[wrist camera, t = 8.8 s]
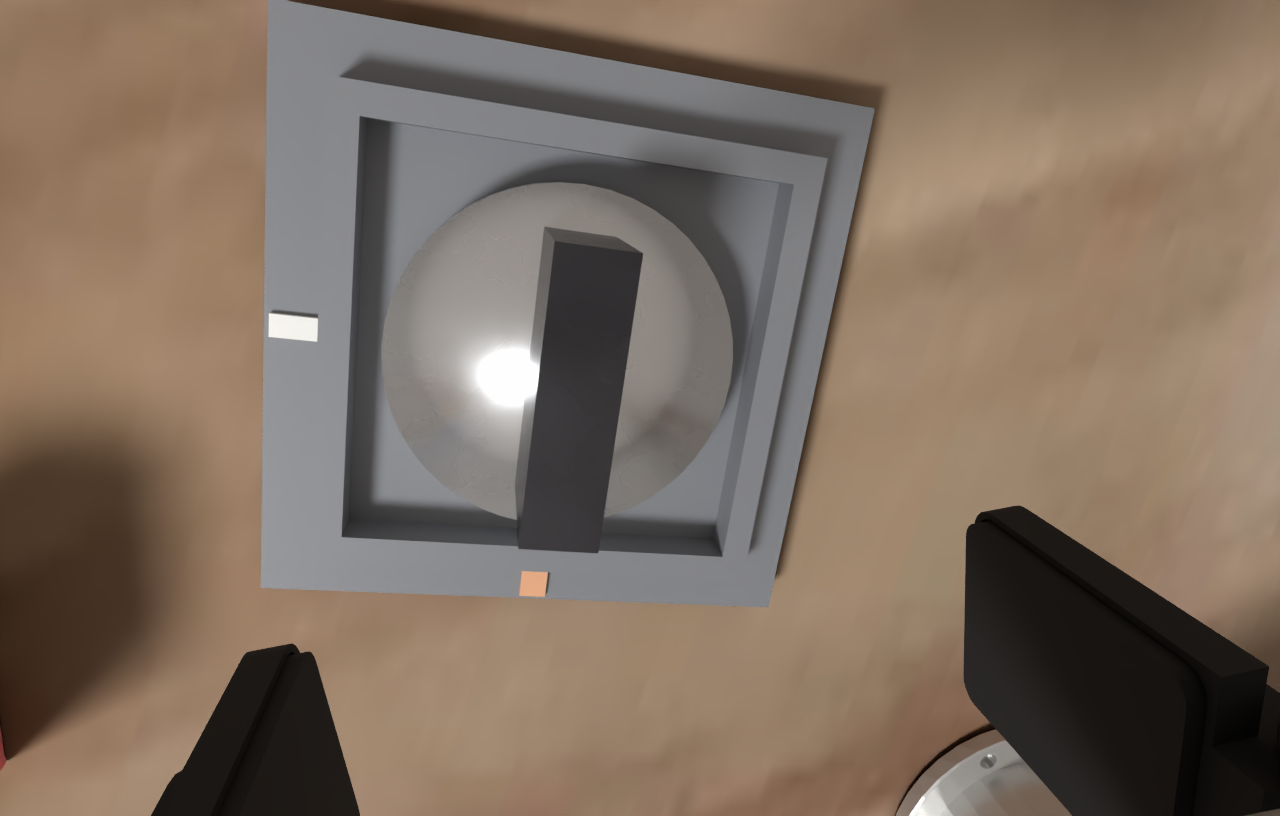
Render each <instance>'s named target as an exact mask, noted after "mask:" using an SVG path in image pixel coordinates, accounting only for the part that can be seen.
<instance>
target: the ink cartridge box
mask: <svg viewBox="0 0 1280 816" xmlns="http://www.w3.org/2000/svg"><path fill="white" fill-rule="evenodd" d="M5 763H6V758H5V756H4V749H3V742H2V735H1V727H0V770H1V769H2V768H3V766H4V765H5Z"/></svg>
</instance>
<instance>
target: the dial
mask: <svg viewBox="0 0 1280 816" xmlns="http://www.w3.org/2000/svg"><path fill="white" fill-rule="evenodd" d="M732 364H733V338H732V331H731V323H730V317H729V313H728V310H727V306H726V303H725V299H724V296H723V294H722V291H721V289H720V287H719V284H718V282H717V279H716V277H715V275H714V274H713V272H712V270H711V269H710V267H709V265H708V263H707V262H706V260H705V258H704V257H703V256H702V254H701V253H700V252H699V251H698V249H697V248H696V247H695V246H694V244H693V243H692V242H691V241H690V239H689V238H688V237H687V236H686V235H685V234H683V233H682V232H681V231H680V230H679V229H678V228H677V227H676V226H675V225H674V224H673V223H672V222H670V221H669V220H668V219H666V218H665V217H663V216H662V215H661V214H659V213H658V212H657V211H655V210H654V209H652V208H650V207H648V206H646V205H644V204H643V203H641V202H639V201H637V200H635V199H633V198H631V197H628V196H625V195H623V194H620V193H617V192H615V191H612V190H609V189H604V188H600V187H595V186H591V185H587V184H582V183H571V182H539V183H531V184H526V185H521V186H515V187H511V188H508V189H505V190H502V191H499V192H496V193H493V194H490V195H488V196H486V197H484V198H482V199H480V200H478V201H476V202H474V203H472V204H470V205H469V206H467V207H466V208H464V209H463V210H461V211H460V212H458V213H457V214H455V215H454V216H452V217H451V218H450V219H448V220H447V221H446V222H445V223H444V224H443V225H442V226H441V227H440V228H439V229H437V230H436V231H435V232H434V233H433V234H432V235H431V236H430V237H429V238H428V240H427V241H426V242H425V243H424V244H423V246H422V247H421V248H420V249H419V250H418V252H417V253H416V254H415V255H414V256H413V258H412V260H411V261H410V263H409V264H408V266H407V268H406V269H405V271H404V273H403V274H402V276H401V277H400V280H399V282H398V284H397V287H396V289H395V291H394V293H393V296H392V298H391V301H390V304H389V308H388V312H387V315H386V319H385V323H384V330H383V338H382V374H383V380H384V387H385V393H386V396H387V399H388V403H389V406H390V409H391V413H392V415H393V417H394V420H395V422H396V424H397V426H398V428H399V431H400V433H401V435H402V436H403V438H404V439H405V441H406V443H407V444H408V446H409V447H410V449H411V451H412V452H413V454H414V455H415V456H416V457H417V458H418V460H419V461H420V462H421V463H422V464H423V466H424V467H425V468H426V469H427V470H428V471H429V472H430V473H431V474H432V475H433V476H434V477H435V478H436V479H437V480H438V481H440V482H441V483H442V484H443V485H444V486H445V487H447V488H448V489H450V490H451V491H452V492H454V493H455V494H457V495H458V496H459V497H461V498H463V499H464V500H466V501H468V502H470V503H472V504H474V505H476V506H477V507H479V508H481V509H484V510H487V511H489V512H492V513H494V514H497V515H500V516H503V517H507V518H511V519H515V520H517V536H518V549H527V550H545V551H562V552H580V553H598V552H599V546H600V539H601V532H602V526H603V519H604V517H608V516H611V515H613V514H616V513H619V512H622V511H624V510H627V509H629V508H631V507H633V506H635V505H637V504H639V503H641V502H643V501H645V500H647V499H648V498H650V497H651V496H653V495H654V494H656V493H657V492H659V491H660V490H662V489H663V488H665V487H666V486H667V485H668V484H669V483H671V482H672V481H673V480H674V479H675V478H676V477H678V476H679V475H680V474H681V473H682V472H683V471H684V470H685V469H686V467H687V466H688V465H689V464H690V463H691V462H692V461H693V460H694V459H695V457H696V456H697V455H698V453H699V452H700V450H701V449H702V448H703V446H704V445H705V444H706V442H707V441H708V439H709V437H710V435H711V433H712V431H713V430H714V428H715V426H716V424H717V422H718V420H719V417H720V414H721V412H722V409H723V407H724V404H725V401H726V397H727V393H728V389H729V385H730V381H731V372H732Z"/></svg>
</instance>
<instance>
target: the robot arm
mask: <svg viewBox="0 0 1280 816" xmlns="http://www.w3.org/2000/svg"><path fill="white" fill-rule="evenodd" d="M1268 670H1269V666H1267V665H1266V664H1264V663H1263V662H1261V661H1260V660H1258V659H1257V658H1255V657H1254V656H1252V655H1251V654H1249V653H1247V652H1246V651H1244V650H1243V649H1241V648H1240V647H1238V646H1237V645H1235V644H1234V643H1232V642H1231V641H1229V640H1227V639H1226V638H1224V637H1223V636H1221V635H1220V634H1218V633H1217V632H1215V631H1214V630H1212V629H1211V628H1209V627H1207V626H1206V625H1204V624H1203V623H1201V622H1200V621H1198V620H1197V619H1195V618H1194V617H1192V616H1191V615H1189V614H1187V613H1186V612H1184V611H1183V610H1181V609H1180V608H1178V607H1177V606H1175V605H1174V604H1172V603H1171V602H1169V601H1167V600H1166V599H1164V598H1163V597H1161V596H1160V595H1158V594H1157V593H1155V592H1154V591H1152V590H1151V589H1149V588H1147V587H1146V586H1144V585H1143V584H1141V583H1140V582H1138V581H1137V580H1135V579H1134V578H1132V577H1131V576H1129V575H1127V574H1126V573H1124V572H1123V571H1121V570H1120V569H1118V568H1117V567H1115V566H1114V565H1112V564H1111V563H1109V562H1107V561H1106V560H1104V559H1103V558H1101V557H1100V556H1098V555H1097V554H1095V553H1094V552H1092V551H1091V550H1089V549H1087V548H1086V547H1084V546H1083V545H1081V544H1080V543H1078V542H1077V541H1075V540H1074V539H1072V538H1071V537H1069V536H1067V535H1066V534H1064V533H1063V532H1061V531H1060V530H1058V529H1057V528H1055V527H1054V526H1052V525H1051V524H1049V523H1047V522H1046V521H1044V520H1043V519H1041V518H1040V517H1038V516H1037V515H1035V514H1034V513H1032V512H1031V511H1029V510H1027V509H1026V508H1024V507H1022V506H1012V507H1007V508H1002V509H996V510H991V511H986V512H981V513H980V514H979V515H978V516H977V518H976V520H975V524H971V525H970V526H969V527H968V529H967V533H966V573H965V630H964V683H965V687H966V690H967V693H968V695H969V697H970V699H971V700H972V702H973V703H974V705H975V706H976V707H977V708H978V709H979V710H980V711H981V713H982V714H983V715H984V716H985V717H986V718H987V719H988V721H989V722H990V723H991V724H992V725H993V726H994V727H995V728H996V729H995V730H992V731H989V732H986V733H983V734H980V735H978V736H976V737H974V738H972V739H970V740H968V741H966V742H964V743H962V744H960V745H958V746H957V747H955V748H954V749H952V750H951V751H949V752H948V753H947V754H945V755H944V756H942V757H941V758H939V759H938V760H937V761H936V762H935V763H934V764H933V765H932V766H931V767H930V768H929V769H928V770H926V771H925V772H924V773H923V774H922V775H921V777H920V778H919V779H918V780H917V782H916V783H915V784H914V785H913V787H912V788H911V789H910V790H909V792H908V793H907V795H906V797H905V799H904V800H903V802H902V804H901V806H900V808H899V809H898V811H897V813H896V816H1280V693H1279V692H1277V691H1276V690H1274V689H1273V688H1271V687H1270V686H1268V685H1267V684H1266V682H1267V676H1268ZM151 816H360V813H359V809H358V805H357V802H356V798H355V795H354V791H353V788H352V784H351V781H350V777H349V774H348V770H347V767H346V764H345V760H344V757H343V753H342V750H341V746H340V743H339V739H338V736H337V732H336V729H335V726H334V722H333V719H332V715H331V712H330V708H329V705H328V701H327V698H326V695H325V691H324V688H323V684H322V681H321V677H320V674H319V670H318V667H317V663H316V660H315V658H314V656H313V654H312V653H311V652H304V653H300V652H299V650H298V648H297V647H296V645H294V644H287V645H282V646H276V647H271V648H266V649H261V650H255V651H250V652H247V653H246V654H245V655H244V656H243V658H242V660H241V661H240V663H239V665H238V667H237V669H236V671H235V673H234V675H233V676H232V678H231V680H230V682H229V684H228V686H227V688H226V690H225V691H224V693H223V695H222V697H221V699H220V701H219V703H218V705H217V706H216V708H215V710H214V712H213V714H212V716H211V718H210V720H209V721H208V723H207V725H206V727H205V729H204V731H203V733H202V735H201V736H200V738H199V740H198V742H197V744H196V746H195V748H194V750H193V751H192V753H191V755H190V757H189V759H188V761H187V763H186V765H185V766H184V768H183V770H182V771H180V772H179V773H177V774H175V776H174V777H173V778H172V780H171V781H170V782H169V784H168V785H167V787H166V789H165V791H164V793H163V794H162V796H161V798H160V800H159V802H158V804H157V806H156V807H155V809H154V811H153V813H152V815H151Z"/></svg>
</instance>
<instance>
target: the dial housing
mask: <svg viewBox="0 0 1280 816" xmlns="http://www.w3.org/2000/svg"><path fill="white" fill-rule="evenodd" d="M874 111H875V108H870V107H864V106H859V105H854V104H848V103H843V102H837V101H832V100H826V99H821V98H815V97H810V96H804V95H799V94H794V93H788V92H783V91H777V90H772V89H766V88H761V87H755V86H750V85H744V84H739V83H734V82H728V81H723V80H717V79H712V78H706V77H701V76H695V75H690V74H684V73H679V72H673V71H668V70H663V69H657V68H652V67H646V66H641V65H635V64H630V63H624V62H619V61H613V60H608V59H603V58H597V57H592V56H586V55H581V54H575V53H570V52H564V51H559V50H553V49H548V48H543V47H537V46H532V45H526V44H521V43H515V42H510V41H504V40H499V39H493V38H488V37H483V36H477V35H472V34H466V33H461V32H455V31H450V30H444V29H439V28H433V27H428V26H422V25H417V24H412V23H406V22H401V21H395V20H390V19H384V18H379V17H373V16H368V15H362V14H357V13H352V12H346V11H341V10H335V9H330V8H324V7H319V6H313V5H308V4H302V3H297V2H292V1H286V0H268V27H267V111H266V196H265V280H264V364H263V449H262V533H261V588H277V589H303V590H330V591H356V592H382V593H408V594H434V595H461V596H487V597H513V598H539V599H565V600H592V601H618V602H644V603H670V604H696V605H723V606H749V607H768V606H769V602H770V597H771V592H772V588H773V583H774V578H775V574H776V569H777V564H778V560H779V555H780V550H781V545H782V541H783V536H784V531H785V527H786V522H787V517H788V513H789V508H790V503H791V499H792V494H793V489H794V485H795V480H796V475H797V471H798V466H799V461H800V457H801V452H802V447H803V443H804V438H805V433H806V429H807V424H808V419H809V415H810V410H811V405H812V401H813V396H814V391H815V387H816V382H817V377H818V373H819V368H820V363H821V359H822V354H823V349H824V345H825V340H826V335H827V331H828V326H829V321H830V317H831V312H832V307H833V303H834V298H835V293H836V289H837V284H838V279H839V275H840V270H841V265H842V261H843V256H844V251H845V246H846V242H847V237H848V232H849V228H850V223H851V218H852V214H853V209H854V204H855V200H856V195H857V190H858V186H859V181H860V176H861V172H862V167H863V162H864V158H865V153H866V148H867V144H868V139H869V134H870V130H871V125H872V120H873V116H874ZM539 182H571V183H582V184H587V185H591V186H595V187H600V188H604V189H609V190H612V191H615V192H617V193H620V194H623V195H625V196H628V197H631V198H633V199H635V200H637V201H639V202H641V203H643V204H644V205H646V206H648V207H650V208H652V209H654V210H655V211H657V212H658V213H659V214H661V215H662V216H663V217H665V218H666V219H668V220H669V221H670V222H672V223H673V224H674V225H675V226H676V227H677V228H678V229H679V230H680V231H681V232H682V233H683V234H685V235H686V236H687V237H688V238H689V239H690V241H691V242H692V243H693V244H694V246H695V247H696V248H697V249H698V251H699V252H700V253H701V254H702V256H703V257H704V258H705V260H706V262H707V263H708V265H709V267H710V269H711V270H712V272H713V274H714V275H715V277H716V279H717V282H718V284H719V287H720V289H721V291H722V294H723V296H724V299H725V303H726V306H727V310H728V313H729V317H730V323H731V331H732V338H733V364H732V372H731V381H730V385H729V389H728V393H727V397H726V401H725V404H724V407H723V409H722V412H721V414H720V417H719V420H718V422H717V424H716V426H715V428H714V430H713V431H712V433H711V435H710V437H709V439H708V441H707V442H706V444H705V445H704V446H703V448H702V449H701V450H700V452H699V453H698V455H697V456H696V457H695V459H694V460H693V461H692V462H691V463H690V464H689V465H688V466H687V467H686V469H685V470H684V471H683V472H682V473H681V474H680V475H679V476H678V477H676V478H675V479H674V480H673V481H672V482H671V483H669V484H668V485H667V486H666V487H665V488H663V489H662V490H660V491H659V492H657V493H656V494H654V495H653V496H651V497H650V498H648V499H647V500H645V501H643V502H641V503H639V504H637V505H635V506H633V507H631V508H629V509H627V510H624V511H622V512H619V513H616V514H613V515H611V516H608V517H604V519H603V526H602V532H601V539H600V546H599V552H598V553H580V552H562V551H545V550H527V549H518V536H517V520H515V519H511V518H507V517H503V516H500V515H497V514H494V513H492V512H489V511H487V510H484V509H481V508H479V507H477V506H476V505H474V504H472V503H470V502H468V501H466V500H464V499H463V498H461V497H459V496H458V495H457V494H455V493H454V492H452V491H451V490H450V489H448V488H447V487H445V486H444V485H443V484H442V483H441V482H440V481H438V480H437V479H436V478H435V477H434V476H433V475H432V474H431V473H430V472H429V471H428V470H427V469H426V468H425V467H424V466H423V464H422V463H421V462H420V461H419V460H418V458H417V457H416V456H415V455H414V454H413V452H412V451H411V449H410V447H409V446H408V444H407V443H406V441H405V439H404V438H403V436H402V435H401V433H400V431H399V428H398V426H397V424H396V422H395V420H394V417H393V415H392V413H391V409H390V406H389V403H388V399H387V396H386V393H385V387H384V380H383V374H382V338H383V330H384V323H385V319H386V315H387V312H388V308H389V304H390V301H391V298H392V296H393V293H394V291H395V289H396V287H397V284H398V282H399V280H400V277H401V276H402V274H403V273H404V271H405V269H406V268H407V266H408V264H409V263H410V261H411V260H412V258H413V256H414V255H415V254H416V253H417V252H418V250H419V249H420V248H421V247H422V246H423V244H424V243H425V242H426V241H427V240H428V238H429V237H430V236H431V235H432V234H433V233H434V232H435V231H436V230H437V229H439V228H440V227H441V226H442V225H443V224H444V223H445V222H446V221H447V220H448V219H450V218H451V217H452V216H454V215H455V214H457V213H458V212H460V211H461V210H463V209H464V208H466V207H467V206H469V205H470V204H472V203H474V202H476V201H478V200H480V199H482V198H484V197H486V196H488V195H490V194H493V193H496V192H499V191H502V190H505V189H508V188H511V187H515V186H521V185H526V184H531V183H539Z"/></svg>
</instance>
